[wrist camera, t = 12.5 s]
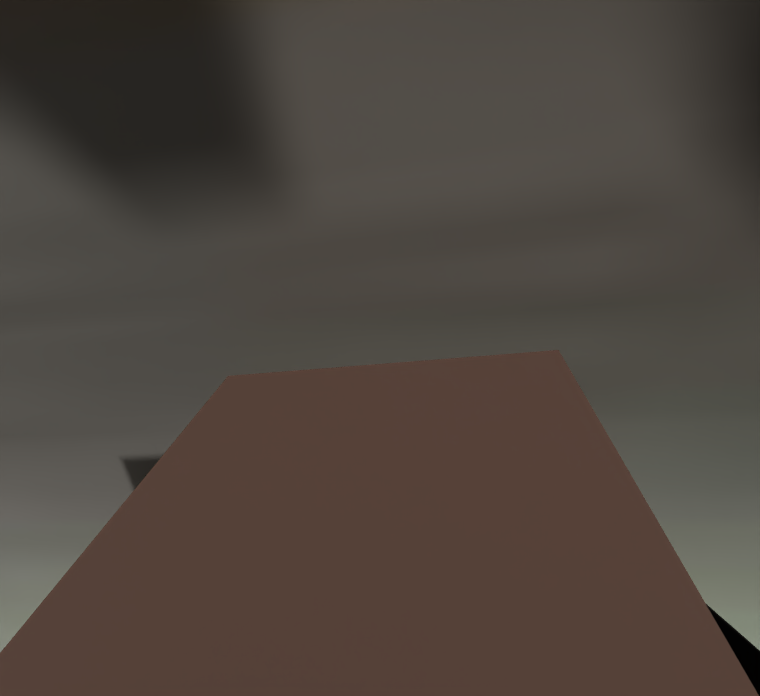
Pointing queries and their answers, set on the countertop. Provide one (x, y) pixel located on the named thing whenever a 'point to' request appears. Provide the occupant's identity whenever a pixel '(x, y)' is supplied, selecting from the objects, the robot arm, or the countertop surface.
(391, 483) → the terracotta block
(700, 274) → the countertop surface
